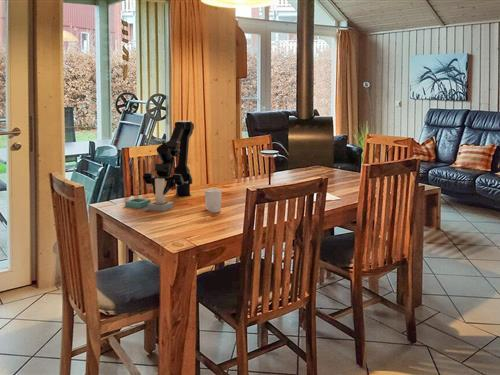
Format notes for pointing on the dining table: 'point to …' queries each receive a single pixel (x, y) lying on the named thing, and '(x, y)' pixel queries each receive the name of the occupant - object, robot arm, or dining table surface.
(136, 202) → the socket board
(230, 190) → the dining table surface
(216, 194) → the white cup
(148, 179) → the robot arm
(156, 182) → the peg
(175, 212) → the dining table surface
